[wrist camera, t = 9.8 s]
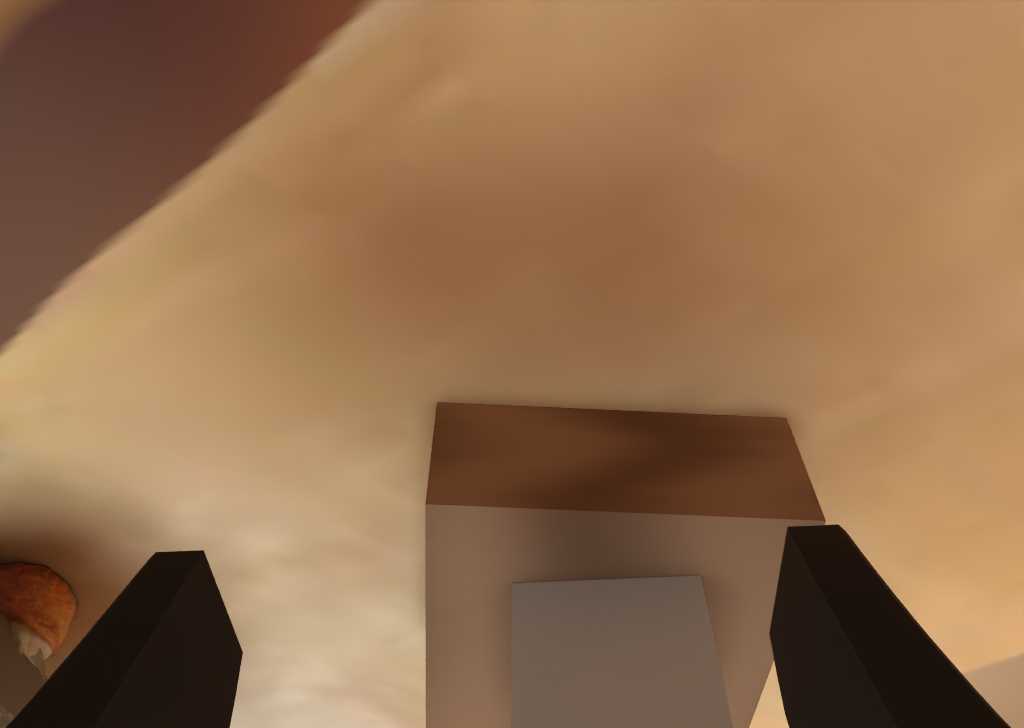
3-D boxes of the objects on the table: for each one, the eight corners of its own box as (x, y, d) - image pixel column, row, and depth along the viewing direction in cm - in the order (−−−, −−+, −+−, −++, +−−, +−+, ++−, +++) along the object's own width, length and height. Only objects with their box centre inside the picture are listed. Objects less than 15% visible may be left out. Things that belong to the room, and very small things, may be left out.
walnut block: (783, 408, 23) (825, 521, 20) (717, 627, 29) (743, 743, 26) (438, 393, 23) (425, 503, 20) (436, 616, 28) (425, 733, 25)
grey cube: (700, 575, 21) (738, 753, 18) (690, 688, 24) (722, 863, 20) (511, 582, 22) (510, 760, 18) (522, 694, 24) (523, 868, 20)
